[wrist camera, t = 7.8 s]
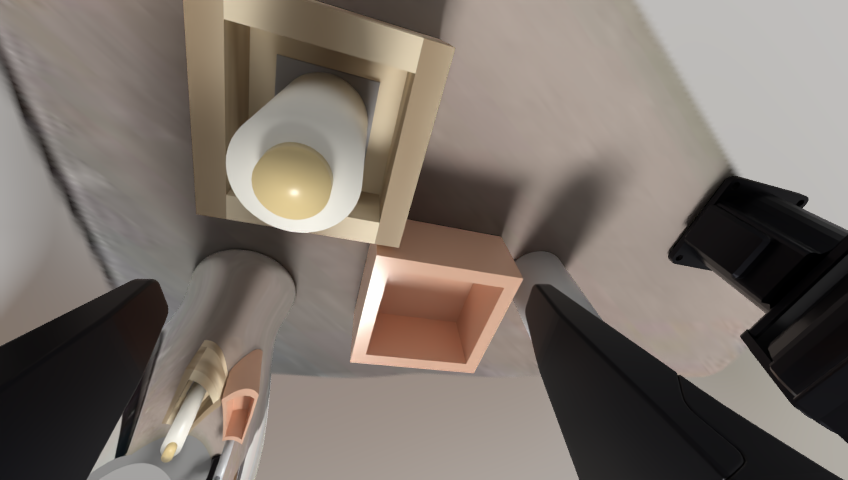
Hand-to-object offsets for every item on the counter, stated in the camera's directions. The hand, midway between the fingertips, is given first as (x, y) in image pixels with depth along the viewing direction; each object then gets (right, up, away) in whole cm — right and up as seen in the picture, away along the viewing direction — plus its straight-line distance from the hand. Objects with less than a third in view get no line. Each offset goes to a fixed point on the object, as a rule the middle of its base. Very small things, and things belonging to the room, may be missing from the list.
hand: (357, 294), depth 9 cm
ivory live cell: (-3, +7, +8) cm, 11 cm away
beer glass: (-10, -2, +14) cm, 17 cm away
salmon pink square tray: (+2, -1, +15) cm, 15 cm away
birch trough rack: (-3, +8, +9) cm, 12 cm away
